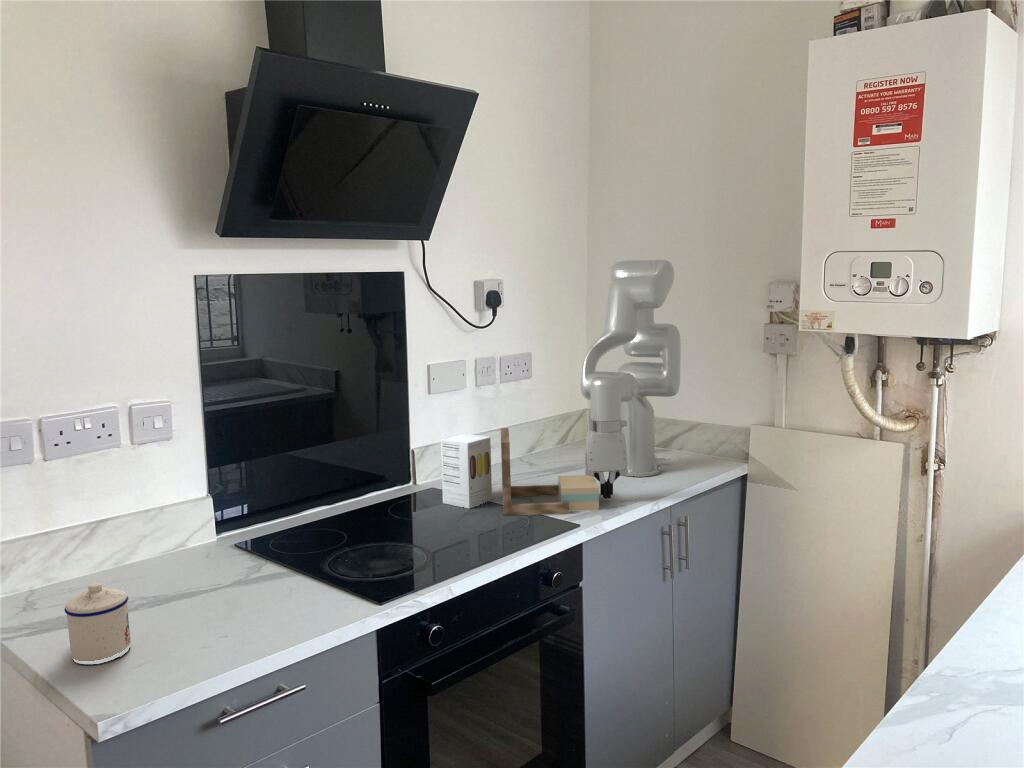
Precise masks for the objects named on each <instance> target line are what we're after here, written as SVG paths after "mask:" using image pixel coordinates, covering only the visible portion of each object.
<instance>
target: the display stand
mask: <svg viewBox="0 0 1024 768" xmlns="http://www.w3.org/2000/svg"><path fill="white" fill-rule="evenodd" d="M509 431H510V430H509V427H501V428H500V447H501V449H500V452H501V477H502V478H501V483H502V484H501V485H502V486H501V489H502V512H503V513H502V514H503V515H502V516H504V517H506V516H509V517H510V516H534V515H535V516H537V515H539V516H540V515H563V514H564V515H565V514H571V513H570V512H571V511H569V502H560V501H559V502H532V503H531V502H529V503H512V498H513V497H514V498H515V497H516V498H517V497H519V496H520V497H541V496H540V495H551V496H559V489H558V484H540V485H538V484H537V485H512V483H511V481H512V480H511V451H510V450H511V449H510V446H511V443H510V442H511V441H510V433H509Z"/></svg>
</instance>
